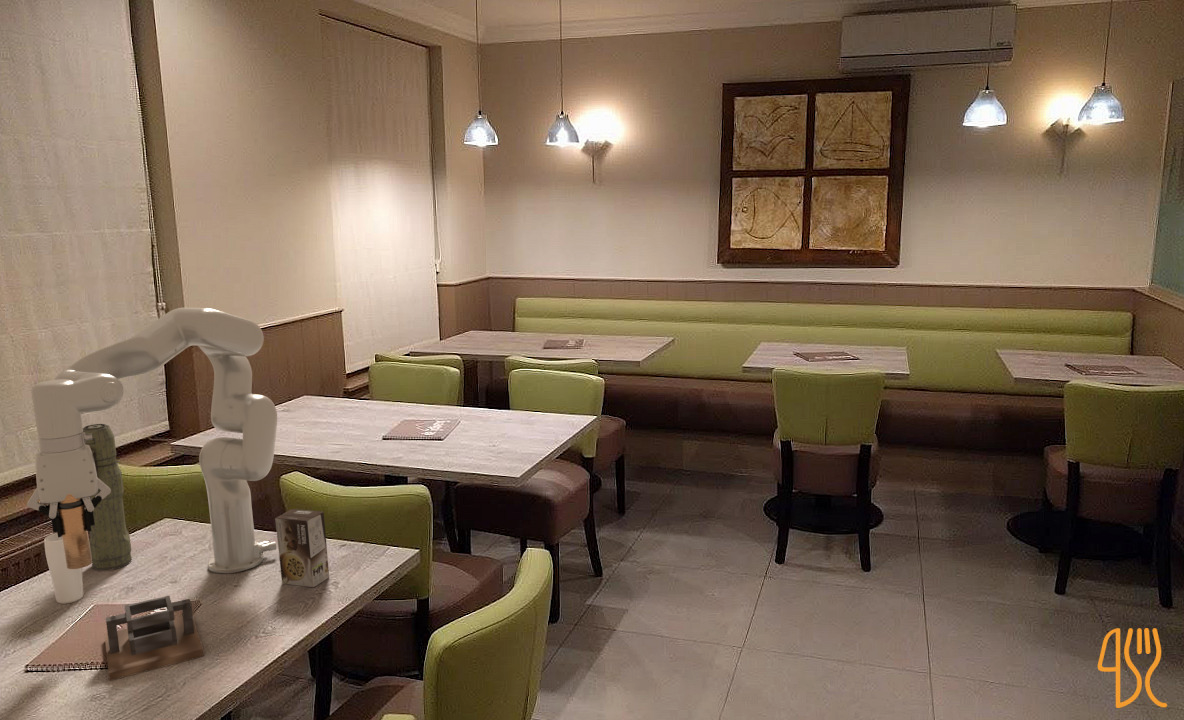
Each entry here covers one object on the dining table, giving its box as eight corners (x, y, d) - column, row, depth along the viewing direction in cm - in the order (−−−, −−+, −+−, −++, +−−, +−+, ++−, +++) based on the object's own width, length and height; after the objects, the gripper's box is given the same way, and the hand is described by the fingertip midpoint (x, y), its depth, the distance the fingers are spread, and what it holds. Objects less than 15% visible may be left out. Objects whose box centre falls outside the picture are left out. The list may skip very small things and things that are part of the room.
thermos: (84, 575, 205) (66, 433, 200) (99, 556, 217) (82, 422, 211) (125, 570, 208) (108, 430, 202) (137, 552, 219) (121, 419, 213)
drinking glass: (71, 607, 188) (62, 542, 186) (45, 605, 190) (36, 540, 187) (94, 593, 195) (86, 531, 192) (69, 591, 196) (60, 529, 194)
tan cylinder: (92, 558, 174) (81, 482, 171) (93, 565, 170) (82, 488, 168) (66, 563, 172) (54, 487, 169) (66, 571, 168) (54, 493, 165)
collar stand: (192, 619, 181) (187, 582, 179) (203, 655, 166) (199, 614, 164) (105, 640, 173) (100, 601, 171) (109, 680, 157) (103, 637, 156)
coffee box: (330, 576, 201) (325, 511, 198) (313, 588, 195) (307, 520, 192) (298, 572, 204) (292, 507, 201) (280, 583, 198) (274, 517, 195)
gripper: (110, 432, 174) (121, 517, 177) (11, 446, 166) (25, 535, 169) (112, 440, 168) (124, 528, 171) (9, 455, 159) (23, 548, 163)
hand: (74, 531), depth 170 cm, fingers closed on tan cylinder, 4 cm apart
